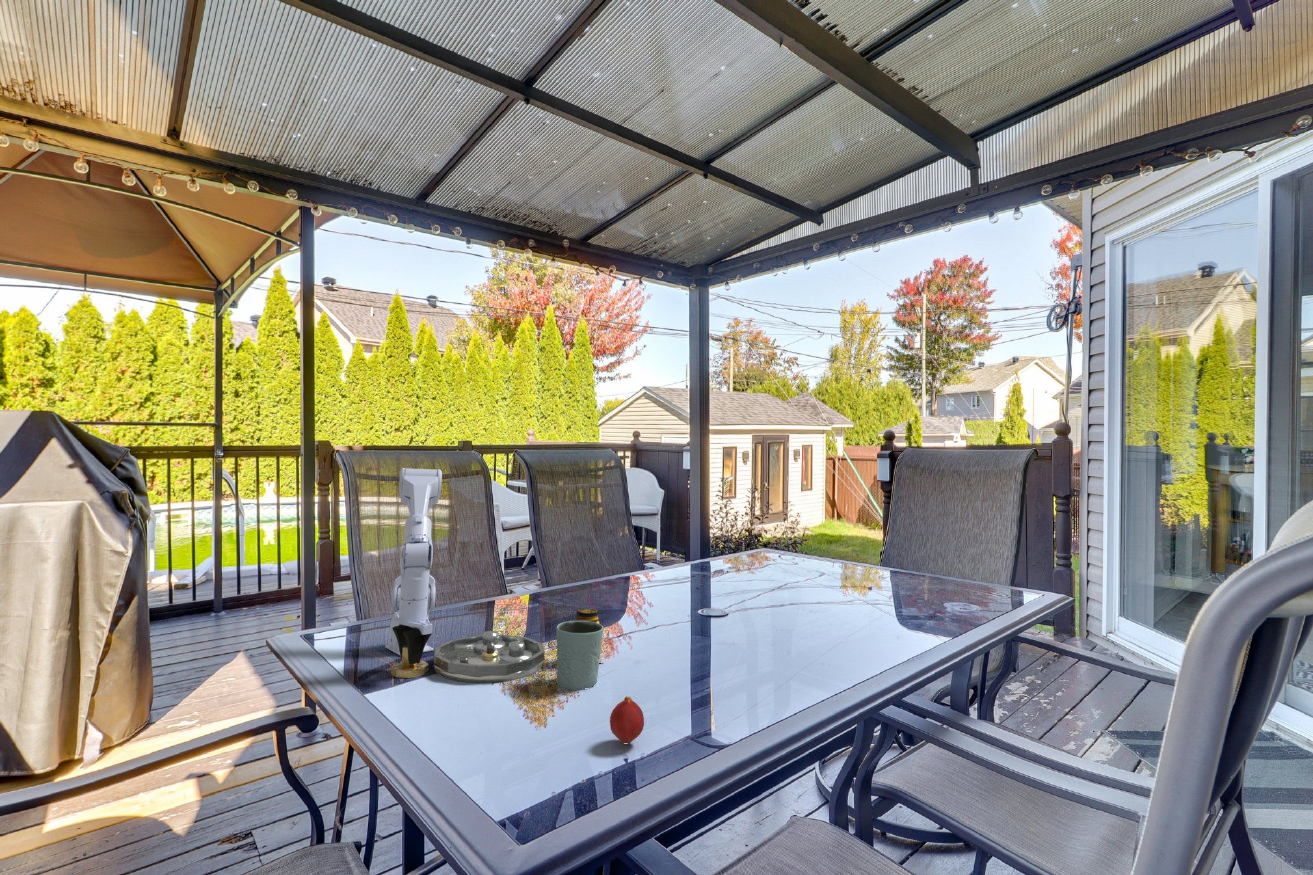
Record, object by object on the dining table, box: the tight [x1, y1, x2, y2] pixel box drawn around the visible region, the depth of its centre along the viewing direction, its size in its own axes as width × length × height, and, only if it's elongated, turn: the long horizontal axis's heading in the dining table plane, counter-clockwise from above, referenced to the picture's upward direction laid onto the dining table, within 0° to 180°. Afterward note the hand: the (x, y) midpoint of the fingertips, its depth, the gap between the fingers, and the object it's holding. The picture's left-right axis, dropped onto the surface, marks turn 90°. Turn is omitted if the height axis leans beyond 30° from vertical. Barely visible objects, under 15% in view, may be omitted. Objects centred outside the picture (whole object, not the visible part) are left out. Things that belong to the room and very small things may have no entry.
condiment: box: [575, 607, 600, 624], centre depth 148 cm, size 7×8×12 cm
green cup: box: [555, 620, 604, 691], centre depth 133 cm, size 10×10×12 cm
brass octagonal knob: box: [390, 645, 429, 679], centre depth 135 cm, size 7×7×6 cm
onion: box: [609, 695, 645, 744], centre depth 105 cm, size 6×6×8 cm
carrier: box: [433, 630, 546, 684], centre depth 143 cm, size 24×24×6 cm
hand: (410, 660), depth 135 cm, fingers closed on brass octagonal knob, 3 cm apart
